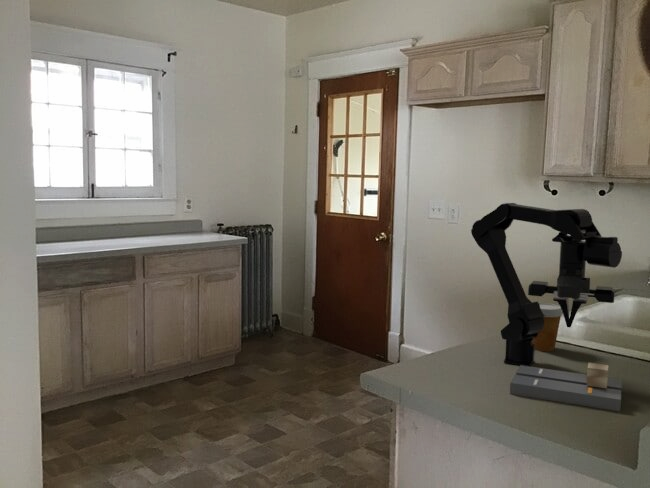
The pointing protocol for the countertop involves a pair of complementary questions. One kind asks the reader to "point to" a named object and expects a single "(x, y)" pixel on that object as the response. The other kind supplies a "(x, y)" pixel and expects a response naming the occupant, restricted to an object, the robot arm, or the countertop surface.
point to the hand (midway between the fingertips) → (568, 326)
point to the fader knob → (597, 375)
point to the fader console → (565, 388)
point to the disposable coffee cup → (548, 327)
